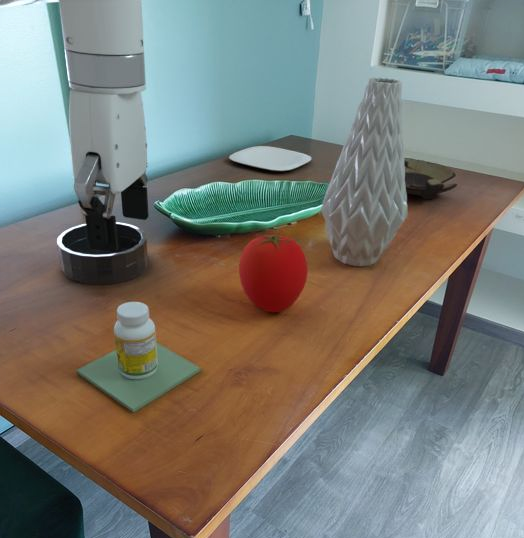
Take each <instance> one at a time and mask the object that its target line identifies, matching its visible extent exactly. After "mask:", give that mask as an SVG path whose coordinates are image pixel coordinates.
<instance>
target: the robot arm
mask: <svg viewBox="0 0 524 538" xmlns="http://www.w3.org/2000/svg"><path fill="white" fill-rule="evenodd" d="M50 3H58V8H59V15H60V23H61V32H62V39H63V48H64V53H65V54H64V56H65V63H66V71H67V72H66V73H67V80H68V86H69V88H70V90H69V102H68V103H69V104H68V105H69V106H68V108H69V110H68V122H69V141H70V154H71V166H72V176H73V177H72V178H73V181H74V182H73V190H74V193H75V195H76V197H77V199H78V202H77V203H78V205H79V207H80V208H81V213H82V215H83V216H84V218H85V224H86V227H87V235H88V242H89V247H90V248H92V249H97V250H104V251H111V252H115V251H116V250H117V249H118V239H117V228H116V222H117V219H116V215H112V213H113V209H114V203H115V199H116V196H117V195H119V194H120V197H121V198H120V199H121V200H120V201H121V210H122V216H123V217H124V218H127V219H135V220H142V221H146V220H147V219H148V218H149V217H150V216H149V215H150V214H149V199H148V187H147V186H148V182H149V181H148V176H147V174H146V172H147V168H148V165H149V164H148V143H147V131H146V120H145V112H144V103H143V102H144V101H143V96H142V92H144V91H145V90H147V86H146V85H147V84H146V63H145V62H146V61H145V44H144V43H145V41H144V26H143V25H144V24H143V7H142V6H143V4H142V3H143V2H142V0H0V8H7V7H15V6H31V5H40V4H50ZM96 184H100V185H96ZM104 185H105V186H104ZM107 185H108V186H107ZM96 195H99V196H104V201H103V202H102V201H101V200H100V198H99V197H98V196H96Z"/></svg>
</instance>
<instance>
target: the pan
mask: <svg viewBox="0 0 524 538" xmlns="http://www.w3.org/2000/svg"><path fill="white" fill-rule="evenodd" d="M116 228H117V239H118V249H117V250H116V251H115V252H111V251H104V250H97V249H92V248H90V247H89V242H88V235H87V227H86V223H83V224H78V225H76V226H73V227H70V228H68V229H67V230H64V231H62V232H61V234H60V235H58V237H57V239H56V246H57V252H58V257H59V262H60V269H61V271H62V273H63V275H64V276H65V277H66V278H68V279H69V280H71V281H73V282H76V283H80V284H84V285H92V286H108V285H116V284H121V283H122V284H123V283H126V282H129V281H131V280H134V279H137V278H138V277H140V276H141V275H142V274H143V273H145V272H146V271H147V269H148V266H149V253H148V240H147V235H146V233H145V232H144V230H143V229H142V228H140V227H139V226H135V225H133V224H130V223H125V222H118V221H116Z"/></svg>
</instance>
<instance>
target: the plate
mask: <svg viewBox="0 0 524 538" xmlns="http://www.w3.org/2000/svg"><path fill="white" fill-rule="evenodd" d="M228 159H229V160H230V161H232V162H233V163H236V164H239V165H243V166H247V167H250V168H253V169H254V168H255V169H258V170H262V171H270V172H290V171H292V170H296V169H298V168H300V167H302V166H305V165H307V164H309V162H311V161H312V156H310V155H308V154H306V153H302V152H299V151H294V150H290V149H286V148H281V147H276V146H269V145H267V146H266V145H258V146H252V147H251V146H250V147H247V148H244V149H240V150H238V151H236V152H233V153H232V154H229V157H228Z"/></svg>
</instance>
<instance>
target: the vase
mask: <svg viewBox="0 0 524 538" xmlns="http://www.w3.org/2000/svg"><path fill="white" fill-rule="evenodd" d="M402 87H403V82H402V81H401V80H400V79H395V78H388V77H385V78H382V77H378V78H376V77H373V78H368V81H367V85H366V86H365V88H364V92H363V94H362V96H361V97H362V98H361V101H360V103H359V104H358V106H357V109H356V113H355V116H354V120H353V122H352V124H351V127H350V129H349V133H348V135H347V136H346V140H345V142H344V144H343V147H342V149H341V152H340V155H339V158H338V159H337V160H336V161H337V162H336V164H335V168H334V170H333V173H332V176H331V178H330V181H329V184H328V186H327V189H326V192H325V194H324V198H323V200H322V202H321V203H322V205H321V208H320V212H321V214H322V216H323V218H324V221H325V224H324V226H325V227H324V229H325V232H326V235H327V240H328V242H329V243H330V244H329V245H330V246H331V250H332V254H333V256H334V257H333V258H335V259H336V260H337V261H338V262H339V263H342V264H344V265H348V266H352V267H359V268H361V267H368V266H369V267H370V266H372V265H375V264H376V263H377V262H378V261H379V259H380V257H381V256H382V254H384V253H386V252H387V251H388V248H389V247H390V245H391V244H392V241H393V240H394V238H395V237H396V236H397V234H398V230H399V229H400V228H401V227H402V226H403V224H404V222H405V221H406V219H407V218H408V215H409V212H408V194H407V193H406V186H405V168H406V166H404V159H405V150H404V149H405V145H404V135H403V134H404V133H403V107H402V106H403V99H402V89H403V88H402Z"/></svg>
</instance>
